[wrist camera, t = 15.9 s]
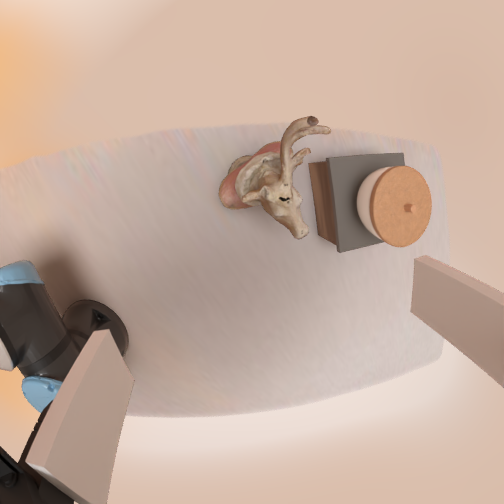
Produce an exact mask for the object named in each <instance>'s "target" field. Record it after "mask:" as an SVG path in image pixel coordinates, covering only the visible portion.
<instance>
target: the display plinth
mask: <svg viewBox="0 0 504 504" xmlns="http://www.w3.org/2000/svg"><path fill="white" fill-rule="evenodd" d="M308 164H309V170H310V177H311V183H312V190H313V197H314V205H315V212H316V221H317V229H318V235H319V236H321V237H323V238H325V239H326V240H328V241H330V242H332V243H333V244H335V245H337V251H338V252H339V253H341V252H345V251H349V250H354V249H358V248H362V247H366V246H370V245H374V244H378V243H382V242H384V241H383V240H381V239H379V238H377V237H376V236H374V235H373V234H372V233H371V232H370V231H369V230H368V229H366V227H365V226H364V225H363V223H362V221H361V219H360V217H359V214H358V211H357V194H358V191H359V188H360V186H361V184H362V182H363V181H364V179H365V178H366V177H367V176H368V175H370V174H371V173H372V172H374V171H376V170H378V169H381V168H385V167H395V166H405V162H404V154H403V153H386V154H369V155H356V156H344V157H334V158H326V161H325V162H316V163H308Z"/></svg>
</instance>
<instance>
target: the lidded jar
mask: <svg viewBox="0 0 504 504" xmlns="http://www.w3.org/2000/svg"><path fill="white" fill-rule="evenodd" d="M431 207H432V202H431V194H430V190H429V187H428V185H427V183H426V181H425V179H424V178H423V176H422V175H421V174H420V173H419V172H418V171H416V170H415V169H413V168H411V167H408V166H395V167H385V168H381V169H378V170H376V171H374V172H372V173H371V174H370V175H368V176H367V177H366V178H365V179H364V181H363V182H362V184H361V186H360V188H359V191H358V194H357V211H358V214H359V217H360V219H361V221H362V223H363V225H364V226H365V227H366V229H368V230H369V231H370V232H371V233H372V234H373V235H374V236H376V237H377V238H379V239H381V240H383V241H384V242H386V243H388V244H390V245H392V246H395V247H405V246H408V245H410V244H412V243H414V242H415V241H417V240H418V239H419V238H420V237H421V235H422V234H423V233H424V231H425V229H426V227H427V225H428V223H429V219H430V215H431Z"/></svg>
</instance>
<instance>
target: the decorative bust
mask: <svg viewBox="0 0 504 504" xmlns="http://www.w3.org/2000/svg"><path fill="white" fill-rule="evenodd" d="M317 123H318V120H317V118H315V117H313V116H309V117H304V118H301V119H297V120H295V121H293V122H292V123H291V124H290V126H289V127H288V128H287V129H286V131H285V133H284V134H283V137H282V140H281V142H280V141H279V142H272V143H269V144H267V145H265V146H264V147H262V148H261V149H260V150H259V151H258V152H257V153H255V154H254V155H253V156H243V157H240V158H238V159H237V160H236V161H235V162H234V163H232V165H231V167H230V169H229V172H228V175H227V176H226V178H225V179H224V180H223V181H222V183H221V185H220V189H219V197H220V200H221V202H222V203H223V205H224V206H225V207H227V208H229V209H241V208H248V207H252V206H258V205H261V204H262V206H263V208H264V210H265V211H266V212H267V213H269V214H270V215H271V216H272V217H273V218H274V219H275V220H277V221H278V222H279V223H281V224H282V225H284V226H285V227H286V228H288V229H289V230H290V232H291V233H292V235H293V236H294V238H296V239H302V238H303V237H305V236H306V235H307V234H308V233H309V227H308V226H307V225H306V224H305V223H304V221H303V219H302V217H301V212H300V204H301V202H302V200H303V199H302V197H301V195H300V194H299V193H298V191H297V190H296V189H295V188H294V187H293V185H292V172H293V171H294V170H295V169H296V167H297V165H300V164H301V163H303V157H304V156H305V155H307V154H309V153H311V151H310V149H309V148H304V149H302V150H300V151H299V152H297V153H296V154H295V155H294V156H293V151H292V148H291V146H292V145H293V143H294V142H295V141H297V140H298V139H300V138H302V137H304V136H306V135H309V134H329V133H331V129H330V128H329V127H326V126H320V125H316V124H317Z"/></svg>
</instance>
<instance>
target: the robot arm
mask: <svg viewBox="0 0 504 504" xmlns="http://www.w3.org/2000/svg"><path fill="white" fill-rule="evenodd" d="M44 285H45V284H44V282H43V281H42V280H41V278H40V277H39V275H38V273H37V270H36V268H35V266H34V265H33V264H32V263H31V262H29V261H25V260H24V261H19V262H15V263H12V264H9V265H7V266H4V267H2V268H0V369H2V370H7V371H12V370H13V369H14V368H15V367H16V366H17V367H18V368H19V370H20V371H21V373H22V374H23V375H24V377H25V378H24V379H23V381H22V391H23V394H24V396H25V398H26V399H27V400H28V402H29V403H30V404H31V405H32V406H33V407H34V408H35V409H36V410H38V411H39V412H40V413H41V415H40V417H39V419H38V423H36V425H35V427H34V431H32V433H31V435H30V437H29V439H28V441H27V444H26V446H25V448H24V450H23V453H22V455H21V458H20V460H19V462H18V463H17V462H16V461H15V460H14V459H13V458H11V456H9V454H7V452H6V451H5V450H4V449H3V448H2V447H1V446H0V504H74V501H75V502H77V503H79V504H107V499H108V493H109V487H110V482H111V476H112V471H113V466H114V461H115V456H116V452H117V447H118V442H119V438H120V434H121V430H122V426H123V422H124V418H125V414H126V410H127V406H128V403H129V399H130V395H131V392H132V388H133V385H134V381H135V380H134V378H133V377H132V375H131V373H130V371H129V369H128V367H127V365H126V363H125V362H124V360H123V356H124V354H125V352H126V349H127V346H128V335H127V331H126V329H125V326H124V325H123V323H122V321H121V320H120V318H119V317H118V316H117V315H116V314H115V313H114V312H113V311H112V310H111V309H109V308H108V307H106V306H105V305H103V304H101V303H99V302H96V301H92V300H81V301H77V302H75V303H74V304H72V305H71V306H70V307H69V308H68V309H67V311H66V312H65V314H64V315H63V318H62V319H61V317H60V315H59V313H58V312H57V310H56V308H55V306H54V304H53V302H52V300H51V298H50V296H49V294H48V292H47V290H46V288H45V286H44ZM410 312H411V313H413V314H414V315H415V316H417V317H418V318H419V319H421V320H422V321H423V322H424V323H426V324H427V325H428V326H430V327H431V328H432V329H433V330H435V331H436V332H437V333H439V334H440V335H441V336H442V337H444V338H445V339H446V340H447V341H449V342H450V343H451V344H452V345H454V346H455V347H456V348H457V349H458V350H460V351H461V352H462V353H463V354H465V355H466V356H467V357H468V358H470V359H471V360H472V361H473V362H474V363H476V364H477V365H478V366H479V367H480V368H481V369H483V370H484V371H485V372H486V373H487V374H488V375H489V376H491V377H492V378H493V379H494V380H495V381H497V383H499V384H500V385H501V386H502V387H503V388H504V293H502V292H500V291H499V290H497V289H495V288H493V287H491V286H489V285H487V284H485V283H483V282H481V281H479V280H477V279H475V278H473V277H471V276H469V275H467V274H465V273H463V272H461V271H459V270H457V269H455V268H453V267H451V266H449V265H446V264H444V263H442V262H440V261H438V260H436V259H433V258H431V257H429V256H427V255H424V256H421V257H418V258H415V259H414V277H413V291H412V302H411V311H410Z"/></svg>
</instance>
